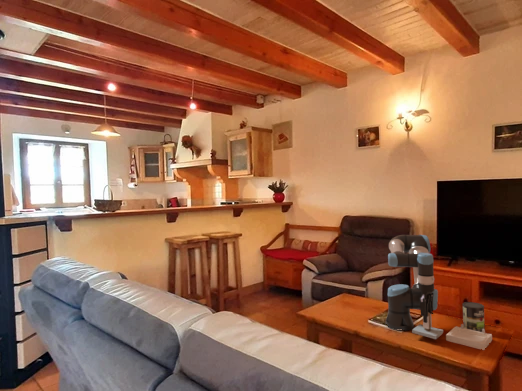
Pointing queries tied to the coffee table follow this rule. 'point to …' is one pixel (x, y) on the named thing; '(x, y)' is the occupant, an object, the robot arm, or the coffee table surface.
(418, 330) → the grey panel with handle
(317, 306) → the coffee table surface
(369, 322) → the coffee table surface
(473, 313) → the coffee can
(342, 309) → the coffee table surface
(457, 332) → the frame
